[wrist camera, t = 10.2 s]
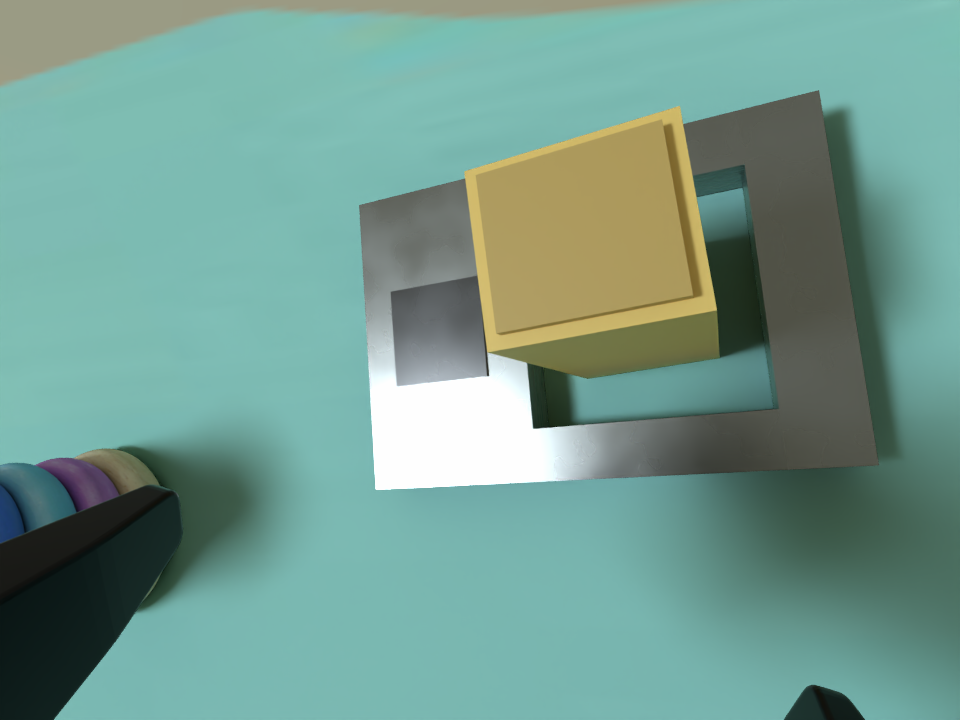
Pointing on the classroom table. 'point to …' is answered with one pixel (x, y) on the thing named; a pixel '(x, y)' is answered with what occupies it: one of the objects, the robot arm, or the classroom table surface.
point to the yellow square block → (595, 252)
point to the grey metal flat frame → (520, 386)
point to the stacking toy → (65, 488)
